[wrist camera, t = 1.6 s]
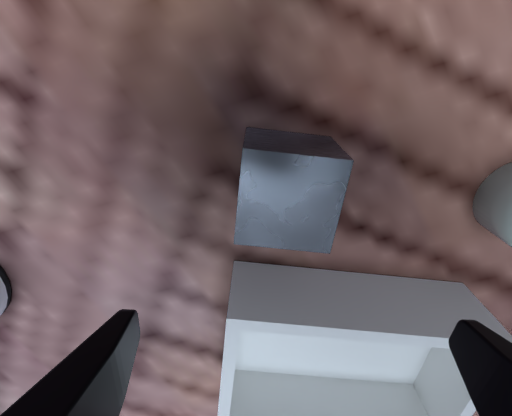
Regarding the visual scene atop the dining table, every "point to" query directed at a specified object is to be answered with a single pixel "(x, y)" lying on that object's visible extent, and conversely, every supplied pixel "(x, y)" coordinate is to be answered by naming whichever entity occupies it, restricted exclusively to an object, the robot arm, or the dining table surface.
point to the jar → (496, 203)
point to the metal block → (290, 190)
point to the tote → (343, 344)
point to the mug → (4, 291)
